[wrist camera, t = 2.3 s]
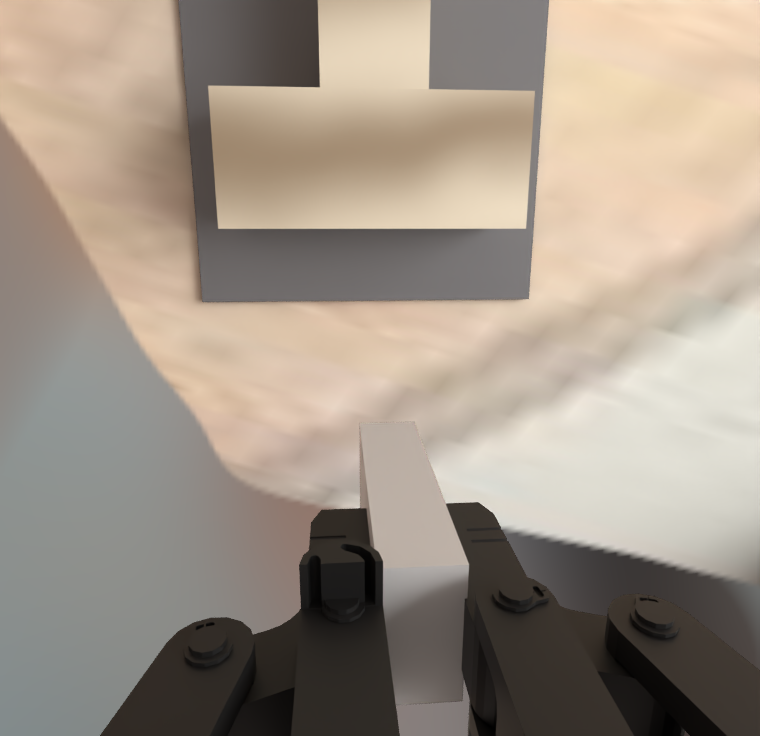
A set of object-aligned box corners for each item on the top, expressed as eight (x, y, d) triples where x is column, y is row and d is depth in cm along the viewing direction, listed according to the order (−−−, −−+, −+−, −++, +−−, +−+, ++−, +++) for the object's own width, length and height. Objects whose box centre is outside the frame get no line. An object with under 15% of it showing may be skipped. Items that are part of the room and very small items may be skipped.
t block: (492, 226, 27) (526, 228, 22) (240, 227, 26) (217, 228, 22) (508, -90, 24) (551, -168, 19) (220, -101, 23) (188, -186, 18)
